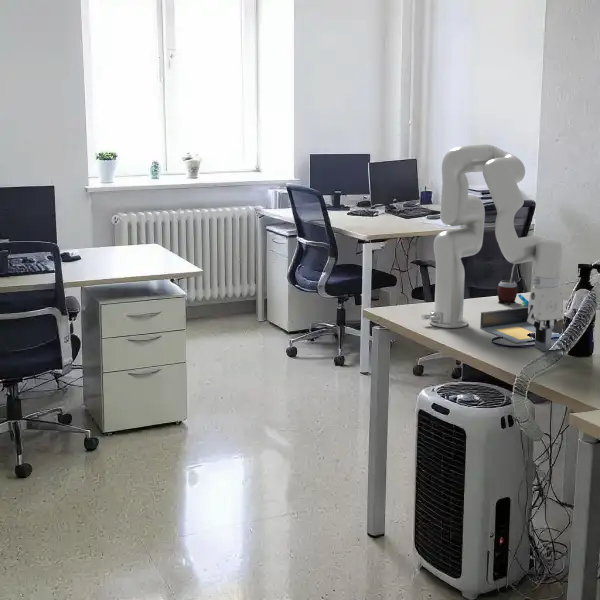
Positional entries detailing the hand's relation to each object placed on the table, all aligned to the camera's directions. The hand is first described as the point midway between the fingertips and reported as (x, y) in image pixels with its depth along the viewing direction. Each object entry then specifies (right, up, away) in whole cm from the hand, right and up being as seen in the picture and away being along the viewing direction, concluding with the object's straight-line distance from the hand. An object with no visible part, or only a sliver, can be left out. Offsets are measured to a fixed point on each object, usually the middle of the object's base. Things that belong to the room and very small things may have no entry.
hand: (543, 340), depth 275 cm
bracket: (+2, -2, +2) cm, 4 cm away
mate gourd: (+2, +11, +58) cm, 59 cm away
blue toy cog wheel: (+6, +7, +41) cm, 42 cm away
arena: (-2, +2, +18) cm, 18 cm away
